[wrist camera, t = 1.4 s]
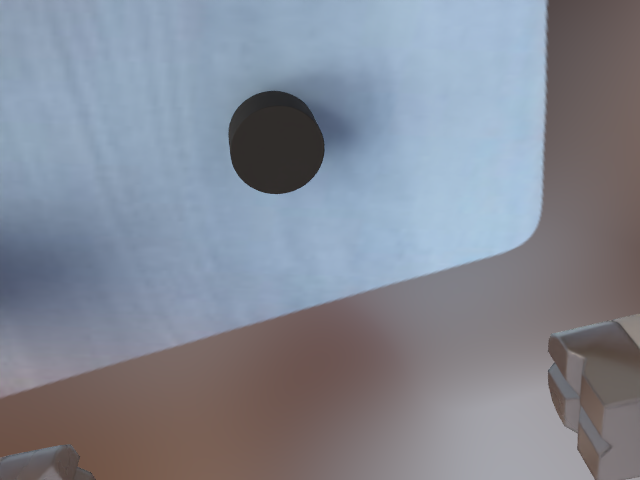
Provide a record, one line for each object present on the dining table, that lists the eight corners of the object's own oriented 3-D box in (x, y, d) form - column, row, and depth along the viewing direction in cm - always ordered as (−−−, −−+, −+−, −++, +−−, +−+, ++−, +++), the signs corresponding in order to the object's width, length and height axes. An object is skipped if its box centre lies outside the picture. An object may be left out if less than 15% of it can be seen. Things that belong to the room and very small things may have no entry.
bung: (228, 162, 33) (231, 195, 29) (225, 80, 31) (229, 105, 27) (309, 161, 34) (322, 193, 30) (313, 81, 31) (327, 105, 28)
